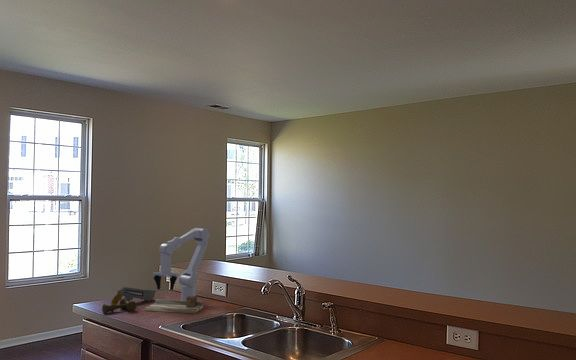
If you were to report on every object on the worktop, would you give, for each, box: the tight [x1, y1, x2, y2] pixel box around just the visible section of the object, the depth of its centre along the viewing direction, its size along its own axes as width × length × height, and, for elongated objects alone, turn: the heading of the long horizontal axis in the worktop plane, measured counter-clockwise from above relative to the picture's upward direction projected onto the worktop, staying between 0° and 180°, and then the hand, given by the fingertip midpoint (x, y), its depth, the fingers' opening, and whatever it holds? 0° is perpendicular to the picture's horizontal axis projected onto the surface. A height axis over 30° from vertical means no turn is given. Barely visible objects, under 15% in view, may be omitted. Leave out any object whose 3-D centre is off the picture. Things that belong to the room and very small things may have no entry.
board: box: [144, 298, 204, 314], centre depth 267 cm, size 13×28×4 cm, turn 79°
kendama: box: [101, 297, 140, 315], centre depth 262 cm, size 6×10×20 cm
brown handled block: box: [185, 295, 198, 308], centre depth 265 cm, size 10×4×6 cm, turn 169°
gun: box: [110, 286, 157, 305], centre depth 282 cm, size 3×25×15 cm, turn 136°
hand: (165, 289), depth 274 cm, fingers open, 7 cm apart
